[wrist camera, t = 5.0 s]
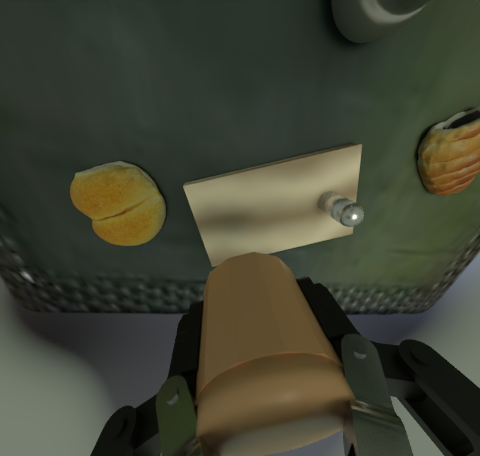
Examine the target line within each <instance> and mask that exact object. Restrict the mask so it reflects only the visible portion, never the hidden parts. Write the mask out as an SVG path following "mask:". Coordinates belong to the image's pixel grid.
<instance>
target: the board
mask: <svg viewBox="0 0 480 456" xmlns="http://www.w3.org/2000/svg"><path fill="white" fill-rule="evenodd" d="M361 151H362V144H357V143H351V144H347V145H343V146H339V147H335V148H330V149H326V150H322V151H318V152H313V153H309V154H305V155H301V156H296V157H292V158H288V159H284V160H280V161H275V162H271V163H267V164H263V165H258V166H254V167H250V168H246V169H241V170H237V171H233V172H229V173H225V174H220V175H216V176H212V177H208V178H203V179H199V180H195V181H191V182H186V183H185V184H184V185H183V188H184V191H185V193H186V196H187V199H188V202H189V204H190V207H191V210H192V213H193V215H194V218H195V221H196V224H197V226H198V229H199V232H200V235H201V237H202V240H203V243H204V246H205V248H206V251H207V254H208V257H209V259H210V262H211V265H212V267H215V266H219V265H220V264H221V263H222V262H224V261H225V260H226V259H227V258H230V257H234V256H238V255H242V254H247V253H251V252H258V253H262V254H269V253H274V252H278V251H282V250H286V249H290V248H295V247H299V246H303V245H307V244H311V243H316V242H320V241H324V240H328V239H332V238H337V237H341V236H345V235H349V234H353V227H347V226H343V225H342V224H340V223H339V222H337V221H336V220H335V219H333V218H332V217H331V216H329V215H328V214H326V213H325V212H324V211H322V210H321V209H320V208H319V206H318V200H319V198H320V197H321V195H322V194H324V193H325V192H328V191H333V192H335V193H337V194H339V195H341V196H343V197H345V198H347V199H349V200H351V201H353V202H355V203H356V197H357V188H358V178H359V169H360V160H361Z"/></svg>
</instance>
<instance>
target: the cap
mask: <svg viewBox="0 0 480 456" xmlns="http://www.w3.org/2000/svg"><path fill="white" fill-rule="evenodd" d="M350 399H356V398H355V396H354V394H353V392H352V390H351V389H350V387H349V385H348V383H347V381H346V379H345V376H344V373H343V366H342V363H341V361H340V359H339V357H338V356H337V354H336V352H335V350H334V348H333V346H332V345H331V343H330V341H329V340H328V338H327V336H326V335H325V333H324V331H323V329H322V327H321V325H320V323H319V322H318V320H317V318H316V316H315V314H314V312H313V310H312V308H311V307H310V305H309V303H308V301H307V299H306V297H305V295H304V294H303V292H302V290H301V288H300V286H299V284H298V282H297V280H296V278H295V276H294V274H293V272H292V270H291V269H290V268H289V267H288V266H287V265H285V264H284V263H283V262H282V261H281V260H280V259H279V258H278V257H276V256H272V255H267V254H262V253H258V252H251V253H247V254H242V255H238V256H234V257H230V258H227V259H226V260H225V261H224V262H222V263H221V264H220V265H219V266H217V267H216V268H215V269H214V270H212V271H211V272H210V273H209V276H208V279H207V282H206V285H205V289H204V292H203V310H202V323H201V336H200V349H199V362H198V372H197V381H196V394H195V404H196V405H197V426H196V437H197V436H200V435H201V436H202V437H203V438H204V439H205V440H206V442H207V444H208V446H209V447H210V448H211V449H212V450H213V451H214V452H216V451H217V452H218V453H219V454H220V455H221V456H263V455H269V454H275V453H280V452H284V451H288V450H292V449H296V448H299V447H302V446H305V445H308V444H311V443H314V442H316V441H319V440H321V439H323V438H326V437H328V436H330V435H332V434H334V433H336V432H337V431H339V430H341V429H342V428H343V422H344V420H346V417H347V405H348V401H349V400H350Z"/></svg>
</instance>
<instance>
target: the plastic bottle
mask: <svg viewBox="0 0 480 456" xmlns="http://www.w3.org/2000/svg"><path fill="white" fill-rule="evenodd" d="M430 1H431V0H331V5H332V14H333V18H334V21H335V24H336V26H337V28H338V29H339V31H340V32H341V33H342V35H343V36H344V37H346V38H347V39H348V40H350V41H352V42H355V43H367V42H371V41H374V40H377V39H380V38H383V37H385V36H387V35H389V34H391V33H392V32H394V31H395V30H397V29H398V28H400V27H401V26H402V25H403V24H405V23H406V22H407V21H408V20H410V19H411V18H412V17H414V16H415V15H416V14H417V13H418V12H419V11H420V10H421V9H422V8H423V7H424V6H425V5H427V4H428V3H429V2H430Z"/></svg>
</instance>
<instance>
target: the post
mask: <svg viewBox="0 0 480 456" xmlns="http://www.w3.org/2000/svg"><path fill="white" fill-rule="evenodd" d="M318 206H319V208H320V209H321V210H322V211H324V212H325V213H326V214H328V215H329V216H331V217H332V218H333V219H335V220H336V221H337V222H339V223H340V224H342V225H343V226H347V227H353V226H356V225H358V224H360V223H361V222H362V221H363V219H364V216H365V213H364V209H363V208H362V207H361V206H360V205H359V204H357V203H355V202H353V201H351V200H349V199H347V198H345V197H343V196H341V195H339V194H337V193H335V192H333V191H328V192H325V193H324V194H322V195H321V197H320V198H319V200H318Z"/></svg>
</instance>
